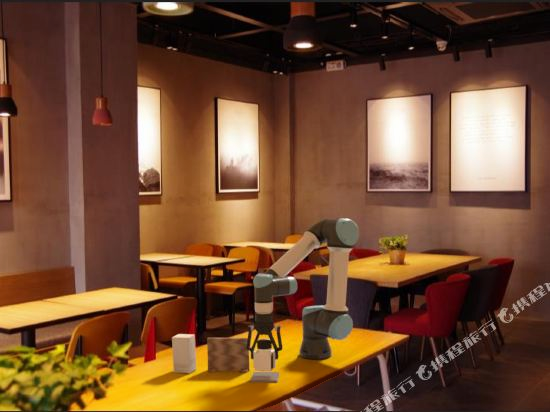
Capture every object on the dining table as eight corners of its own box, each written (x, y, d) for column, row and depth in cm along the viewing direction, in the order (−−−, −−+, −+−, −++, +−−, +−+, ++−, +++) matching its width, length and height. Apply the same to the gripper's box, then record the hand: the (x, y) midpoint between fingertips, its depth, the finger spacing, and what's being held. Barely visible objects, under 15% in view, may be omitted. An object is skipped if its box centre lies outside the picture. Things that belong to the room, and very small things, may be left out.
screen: (250, 368, 261) (249, 336, 260) (248, 372, 255) (247, 340, 254) (209, 367, 262) (209, 336, 262) (206, 372, 256) (206, 339, 256)
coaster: (279, 374, 252) (279, 372, 252) (277, 382, 241) (277, 380, 241) (253, 373, 253) (253, 371, 253) (250, 382, 242) (250, 380, 242)
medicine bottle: (271, 371, 242) (270, 342, 242) (254, 370, 244) (253, 341, 244) (274, 366, 249) (274, 338, 249) (258, 365, 251) (257, 337, 251)
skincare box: (196, 369, 260) (196, 334, 260) (189, 374, 254) (188, 337, 253) (179, 368, 263) (178, 333, 262) (172, 372, 256) (171, 336, 256)
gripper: (289, 310, 249) (289, 364, 250) (240, 310, 251) (241, 364, 251) (287, 314, 242) (288, 370, 242) (238, 313, 243) (238, 369, 244)
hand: (264, 366), depth 247 cm, fingers closed on medicine bottle, 7 cm apart
